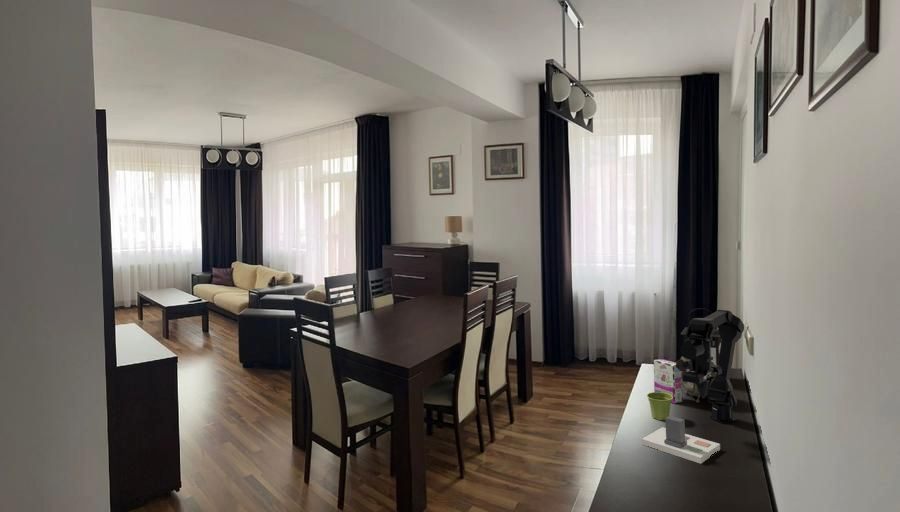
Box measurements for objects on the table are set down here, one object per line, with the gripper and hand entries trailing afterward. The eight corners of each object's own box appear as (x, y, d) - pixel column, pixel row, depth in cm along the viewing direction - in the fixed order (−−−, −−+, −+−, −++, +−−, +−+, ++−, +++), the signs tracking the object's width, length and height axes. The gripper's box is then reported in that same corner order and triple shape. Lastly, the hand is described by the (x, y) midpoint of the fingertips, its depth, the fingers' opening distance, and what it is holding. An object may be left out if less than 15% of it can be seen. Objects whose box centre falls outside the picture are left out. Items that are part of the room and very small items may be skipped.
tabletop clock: (680, 393, 220) (679, 337, 219) (701, 392, 220) (700, 336, 219) (695, 404, 206) (694, 345, 204) (717, 404, 206) (716, 344, 204)
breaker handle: (670, 439, 170) (670, 414, 170) (687, 444, 166) (686, 419, 165) (664, 443, 168) (663, 418, 167) (680, 448, 163) (680, 422, 163)
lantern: (725, 376, 240) (724, 305, 238) (722, 387, 225) (721, 311, 223) (686, 372, 249) (684, 303, 247) (681, 382, 235) (679, 309, 233)
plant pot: (676, 422, 189) (675, 400, 189) (650, 421, 191) (649, 399, 191) (670, 413, 198) (669, 392, 198) (645, 412, 200) (644, 391, 200)
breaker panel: (662, 432, 181) (662, 426, 181) (720, 449, 165) (719, 443, 165) (642, 444, 172) (641, 438, 172) (700, 463, 157) (700, 457, 156)
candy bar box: (683, 402, 210) (682, 363, 209) (674, 404, 208) (673, 365, 207) (662, 394, 220) (661, 358, 219) (654, 396, 218) (652, 359, 217)
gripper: (691, 346, 190) (692, 386, 191) (666, 355, 179) (667, 397, 179) (722, 350, 182) (723, 392, 182) (698, 360, 170) (699, 405, 171)
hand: (702, 396), depth 179 cm, fingers closed
